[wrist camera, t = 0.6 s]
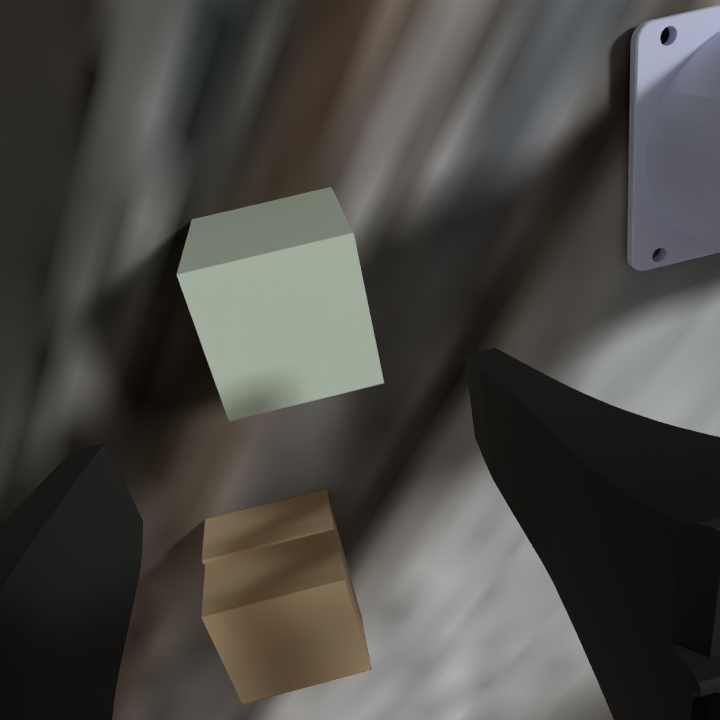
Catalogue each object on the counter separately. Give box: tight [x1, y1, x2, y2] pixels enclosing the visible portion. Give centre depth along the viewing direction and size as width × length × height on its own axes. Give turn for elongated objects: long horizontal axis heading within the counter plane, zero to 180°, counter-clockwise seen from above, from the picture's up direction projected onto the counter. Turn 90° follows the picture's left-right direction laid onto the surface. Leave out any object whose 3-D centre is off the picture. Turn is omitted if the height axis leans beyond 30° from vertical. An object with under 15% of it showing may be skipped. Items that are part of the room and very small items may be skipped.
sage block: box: [177, 187, 384, 421], centre depth 19 cm, size 4×4×5 cm
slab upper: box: [201, 529, 371, 704], centre depth 24 cm, size 5×5×2 cm
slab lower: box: [202, 489, 351, 578], centre depth 26 cm, size 5×5×2 cm
